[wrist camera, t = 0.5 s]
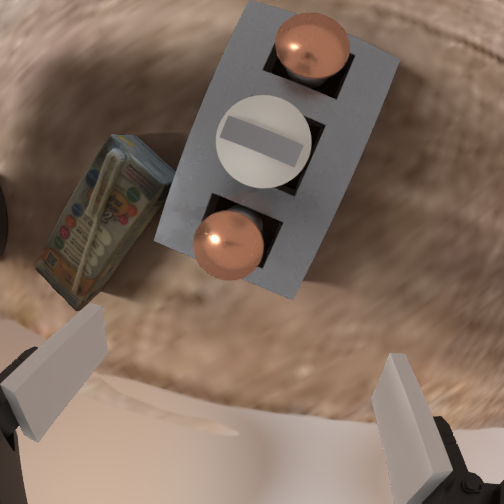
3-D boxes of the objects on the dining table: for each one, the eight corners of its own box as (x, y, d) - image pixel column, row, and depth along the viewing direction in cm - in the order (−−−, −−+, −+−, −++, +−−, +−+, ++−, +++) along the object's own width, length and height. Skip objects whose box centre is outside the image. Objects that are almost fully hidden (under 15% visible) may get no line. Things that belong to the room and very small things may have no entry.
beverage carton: (188, 178, 33) (165, 186, 26) (102, 294, 38) (74, 318, 32) (137, 132, 32) (105, 130, 25) (61, 253, 37) (30, 270, 31)
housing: (172, 228, 34) (153, 240, 29) (255, 19, 26) (249, -1, 22) (292, 279, 34) (292, 300, 30) (385, 71, 26) (400, 59, 22)
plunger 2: (270, 80, 26) (263, 60, 19) (291, 33, 24) (290, 3, 18) (325, 103, 26) (335, 88, 19) (345, 55, 24) (359, 30, 18)
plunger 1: (206, 239, 31) (184, 264, 24) (225, 189, 29) (206, 201, 23) (256, 261, 31) (247, 290, 24) (278, 211, 29) (274, 229, 23)
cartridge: (242, 159, 31) (195, 169, 16) (261, 113, 29) (232, 77, 14) (290, 179, 31) (289, 207, 16) (310, 132, 29) (329, 114, 14)
